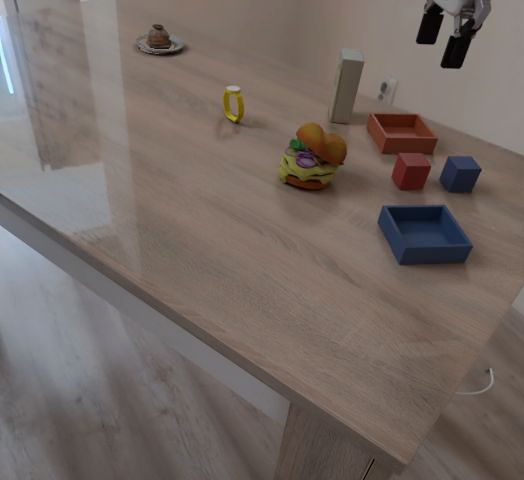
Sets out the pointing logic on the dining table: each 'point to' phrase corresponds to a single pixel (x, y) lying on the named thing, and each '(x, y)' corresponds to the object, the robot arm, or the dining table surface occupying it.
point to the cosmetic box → (345, 85)
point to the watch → (240, 105)
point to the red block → (411, 171)
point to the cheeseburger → (312, 157)
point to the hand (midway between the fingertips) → (437, 55)
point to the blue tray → (423, 234)
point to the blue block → (460, 174)
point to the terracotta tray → (401, 133)
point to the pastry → (160, 40)
